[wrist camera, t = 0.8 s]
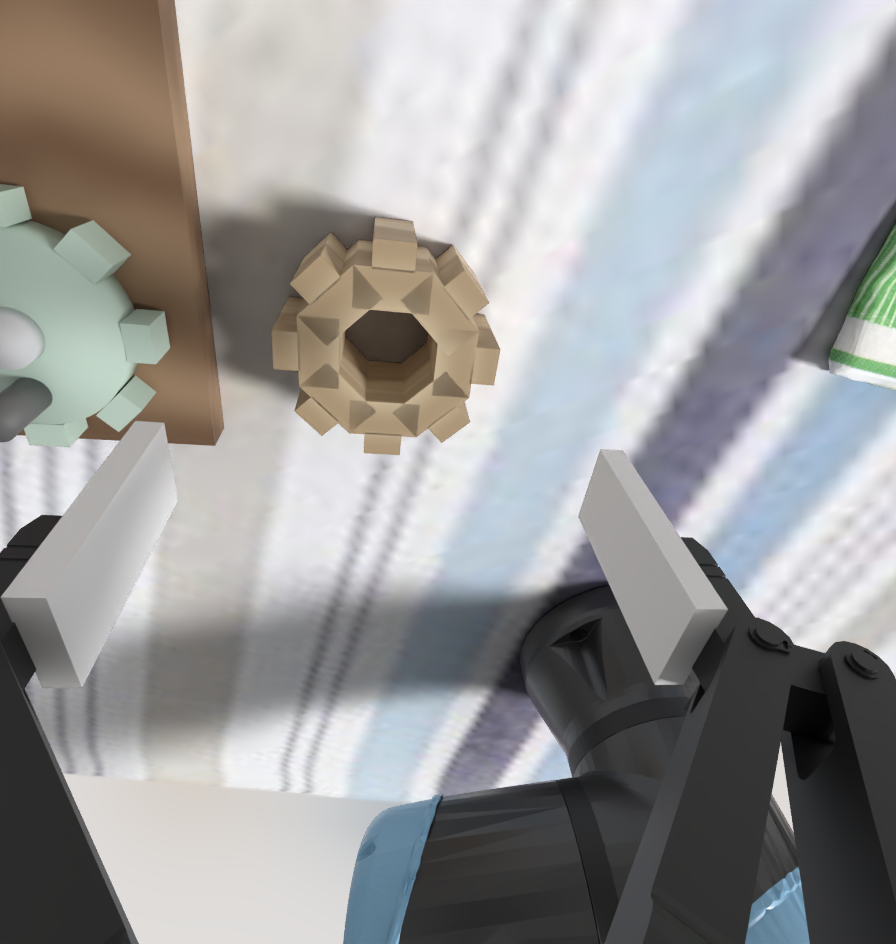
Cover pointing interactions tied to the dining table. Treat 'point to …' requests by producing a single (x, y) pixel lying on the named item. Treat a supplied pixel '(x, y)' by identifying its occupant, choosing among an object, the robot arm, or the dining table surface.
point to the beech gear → (374, 382)
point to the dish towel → (871, 325)
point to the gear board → (117, 175)
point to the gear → (67, 330)
